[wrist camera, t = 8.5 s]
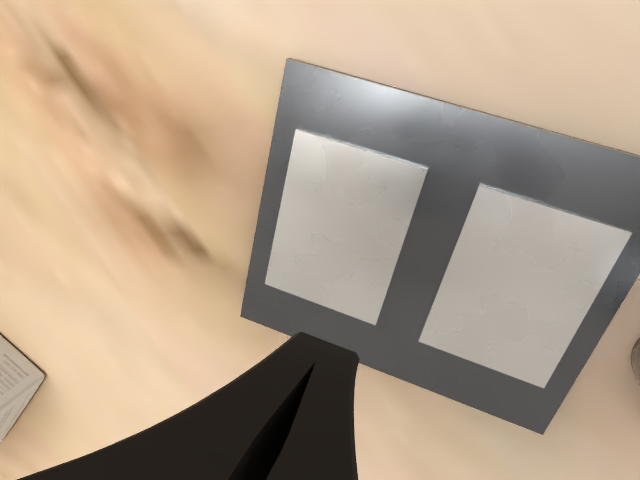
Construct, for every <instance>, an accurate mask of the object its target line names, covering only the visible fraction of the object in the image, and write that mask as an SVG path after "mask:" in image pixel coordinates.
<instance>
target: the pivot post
mask: <svg viewBox="0 0 640 480" xmlns="http://www.w3.org/2000/svg"><path fill="white" fill-rule="evenodd" d="M631 363H632V368H633V370H634V373H635V375H636V377H637V380H638V382H639V384H640V339H639V340H638V341H637V342H636V344H635V346H634V348H633V351H632V355H631Z"/></svg>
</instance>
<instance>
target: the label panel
mask: <svg viewBox="0 0 640 480" xmlns="http://www.w3.org/2000/svg"><path fill="white" fill-rule="evenodd" d="M639 273H640V156H639V155H635V154H632V153H628V152H624V151H621V150H617V149H614V148H610V147H606V146H603V145H599V144H596V143H592V142H589V141H585V140H581V139H578V138H574V137H571V136H567V135H563V134H560V133H556V132H553V131H549V130H545V129H542V128H538V127H535V126H531V125H528V124H524V123H520V122H517V121H513V120H510V119H506V118H502V117H499V116H495V115H492V114H488V113H484V112H481V111H477V110H474V109H470V108H466V107H463V106H459V105H456V104H452V103H449V102H445V101H441V100H438V99H434V98H431V97H427V96H423V95H420V94H416V93H413V92H409V91H405V90H402V89H398V88H395V87H391V86H388V85H384V84H380V83H377V82H373V81H370V80H366V79H362V78H359V77H355V76H352V75H348V74H344V73H341V72H337V71H334V70H330V69H327V68H323V67H319V66H316V65H312V64H309V63H305V62H301V61H298V60H294V59H291V58H289V59H286V65H285V70H284V76H283V81H282V87H281V92H280V98H279V104H278V109H277V115H276V120H275V126H274V131H273V137H272V143H271V148H270V154H269V159H268V165H267V170H266V176H265V182H264V187H263V193H262V198H261V204H260V209H259V215H258V221H257V226H256V232H255V237H254V243H253V249H252V254H251V260H250V265H249V271H248V276H247V282H246V288H245V293H244V299H243V304H242V310H241V315H240V316H241V317H243V318H246V319H249V320H251V321H254V322H256V323H259V324H261V325H264V326H266V327H269V328H272V329H274V330H277V331H279V332H282V333H284V334H287V335H289V336H293V335H295V334H296V333H299V332H304V333H306V334H309V335H312V336H314V337H317V338H320V339H322V340H325V341H327V342H330V343H333V344H335V345H338V346H340V347H343V348H346V349H348V350H351V351H354V352H356V353H357V355H358V357H359V358H360V360H359V363H361V364H363V365H366V366H369V367H371V368H374V369H376V370H379V371H381V372H384V373H386V374H389V375H392V376H394V377H397V378H399V379H402V380H404V381H407V382H409V383H412V384H415V385H417V386H420V387H422V388H425V389H427V390H430V391H432V392H435V393H438V394H440V395H443V396H445V397H448V398H450V399H453V400H455V401H458V402H461V403H463V404H466V405H468V406H471V407H473V408H476V409H478V410H481V411H484V412H486V413H489V414H491V415H494V416H496V417H499V418H501V419H504V420H506V421H509V422H512V423H514V424H517V425H519V426H522V427H524V428H527V429H529V430H532V431H535V432H537V433H540V434H542V435H543V433H544V432H545V430H546V428H547V427H548V425H549V423H550V422H551V420H552V418H553V417H554V415H555V413H556V412H557V410H558V408H559V407H560V405H561V403H562V402H563V400H564V398H565V397H566V395H567V393H568V392H569V390H570V388H571V387H572V385H573V383H574V382H575V380H576V378H577V377H578V375H579V373H580V372H581V370H582V368H583V367H584V365H585V363H586V362H587V360H588V358H589V357H590V355H591V353H592V352H593V350H594V348H595V347H596V345H597V343H598V342H599V340H600V338H601V337H602V335H603V333H604V332H605V330H606V328H607V327H608V325H609V323H610V322H611V320H612V318H613V317H614V315H615V313H616V312H617V310H618V308H619V307H620V305H621V303H622V302H623V300H624V298H625V297H626V295H627V293H628V292H629V290H630V288H631V287H632V285H633V283H634V282H635V280H636V278H637V277H638V275H639Z"/></svg>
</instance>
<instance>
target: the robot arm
mask: <svg viewBox="0 0 640 480" xmlns="http://www.w3.org/2000/svg"><path fill="white" fill-rule="evenodd" d="M359 360H360V358H359V357H358V355H357V353H356V352H354V351H351V350H348V349H346V348H343V347H340V346H338V345H335V344H333V343H330V342H327V341H325V340H322V339H320V338H317V337H314V336H312V335H309V334H306V333H304V332H299V333H296V334H295V335H293V336H292V337H291V338H290V339H289V340H288V341H286V342H285V343H284V344H283V345H282V346H280V347H279V348H278V349H276V350H275V351H274V352H273V353H271V354H270V355H269V356H267V357H266V358H265V359H263V360H262V361H261V362H259V363H258V364H256V365H255V366H254V367H252V368H251V369H249V370H248V371H246V372H245V373H243V374H242V375H240V376H239V377H238V378H236V379H235V380H233V381H232V382H230V383H229V384H227V385H225V386H224V387H222V388H220V389H219V390H217V391H216V392H214V393H212V394H211V395H209V396H207V397H206V398H204V399H202V400H201V401H199V402H197V403H196V404H194V405H192V406H190V407H189V408H187V409H185V410H183V411H181V412H179V413H178V414H176V415H174V416H172V417H170V418H168V419H166V420H164V421H162V422H160V423H158V424H156V425H154V426H152V427H150V428H148V429H146V430H144V431H141V432H139V433H137V434H135V435H132V436H130V437H128V438H126V439H123V440H121V441H119V442H116V443H114V444H112V445H110V446H107V447H105V448H103V449H100V450H98V451H95V452H93V453H90V454H88V455H85V456H82V457H80V458H77V459H74V460H71V461H69V462H66V463H63V464H60V465H57V466H54V467H51V468H49V469H46V470H43V471H40V472H37V473H34V474H31V475H29V476H26V477H23V478H20V479H17V480H358V473H357V463H356V453H355V438H354V387H355V378H356V371H357V366H358V363H359Z"/></svg>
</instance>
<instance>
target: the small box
mask: <svg viewBox="0 0 640 480" xmlns="http://www.w3.org/2000/svg"><path fill="white" fill-rule="evenodd" d="M44 377H45V375H44V374H43V373H42V372H41V371H40V370H39V369H38V368H37V367H36V366H35V365H34V364H32V363H31V362H30V361H29V360H28V359H27V358H26V357H24V356H23V355H22V354H21V353H20V352H19V351H18V350H17V349H16V348H15V347H13V346H12V345H11V344H10V343H9V342H8V341H6V340H5V339H4V338H3V337H2V336H1V335H0V443H1V442H2V440H3V439H4V437H5V436H6V434H7V433H8V432H9V430H10V429H11V427H12V426H13V424H14V423H15V421H16V420H17V418H18V417H19V415H20V414H21V412H22V411H23V410H24V408H25V407H26V405H27V404H28V402H29V401H30V399H31V398H32V396H33V395H34V393H35V392H36V390H37V389H38V387H39V385H40V384H41V382H42V381H43V379H44Z"/></svg>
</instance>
